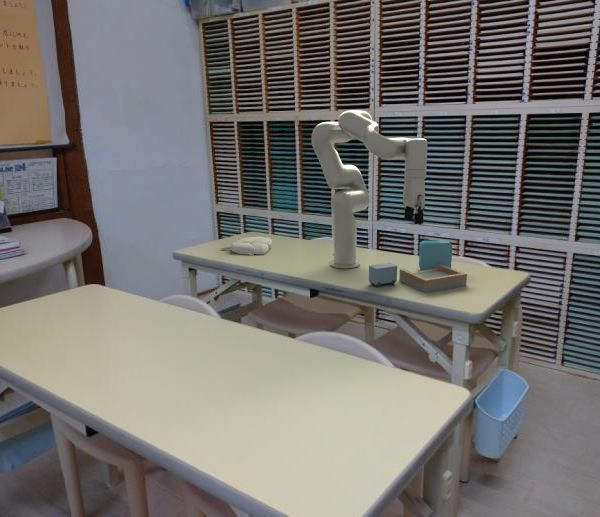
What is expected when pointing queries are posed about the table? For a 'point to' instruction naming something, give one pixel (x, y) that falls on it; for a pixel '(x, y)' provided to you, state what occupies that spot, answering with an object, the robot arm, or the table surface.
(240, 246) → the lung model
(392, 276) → the grey-blue rounded box
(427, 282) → the tray
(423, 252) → the data package
